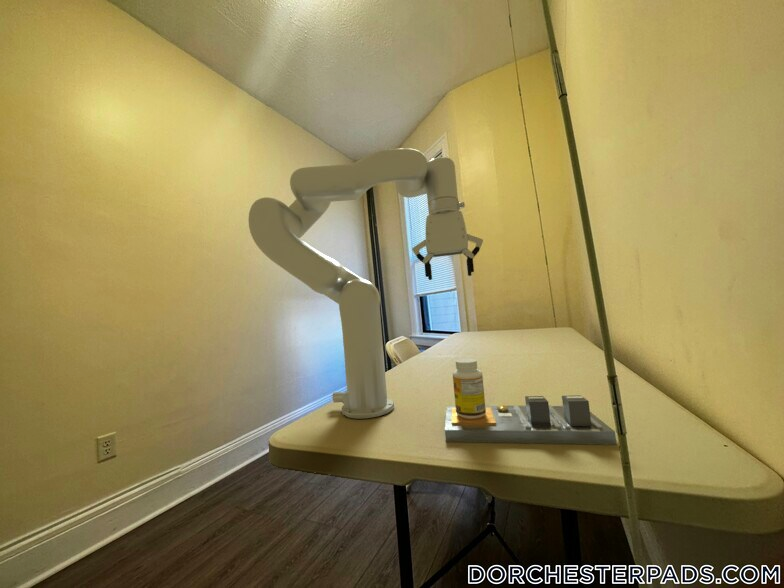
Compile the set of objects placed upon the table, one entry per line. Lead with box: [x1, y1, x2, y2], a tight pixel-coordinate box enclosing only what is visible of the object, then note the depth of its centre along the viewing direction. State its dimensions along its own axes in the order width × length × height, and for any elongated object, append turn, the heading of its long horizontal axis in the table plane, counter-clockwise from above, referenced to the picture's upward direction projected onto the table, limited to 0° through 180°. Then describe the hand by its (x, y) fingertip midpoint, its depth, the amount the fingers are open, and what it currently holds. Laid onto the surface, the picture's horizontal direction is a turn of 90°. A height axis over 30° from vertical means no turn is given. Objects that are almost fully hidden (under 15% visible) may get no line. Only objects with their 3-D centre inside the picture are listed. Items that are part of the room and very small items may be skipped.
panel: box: [444, 395, 617, 446], centre depth 53 cm, size 26×12×6 cm, turn 77°
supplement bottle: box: [452, 358, 486, 419], centre depth 55 cm, size 6×6×10 cm
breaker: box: [561, 394, 591, 426], centre depth 49 cm, size 3×3×4 cm
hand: (449, 277), depth 71 cm, fingers open, 9 cm apart
